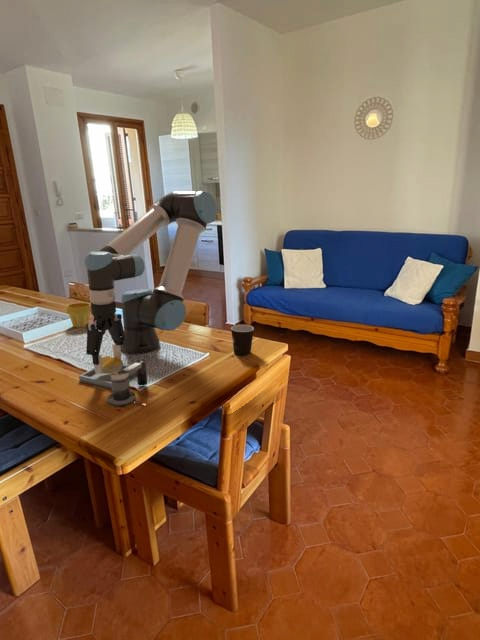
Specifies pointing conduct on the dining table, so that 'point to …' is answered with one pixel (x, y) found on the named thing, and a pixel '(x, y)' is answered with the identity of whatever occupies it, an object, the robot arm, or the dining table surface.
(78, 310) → the plant pot
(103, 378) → the tray
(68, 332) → the dining table surface
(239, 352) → the coffee mug
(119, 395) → the crank hub
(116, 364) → the bread roll
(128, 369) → the crank
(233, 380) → the dining table surface
